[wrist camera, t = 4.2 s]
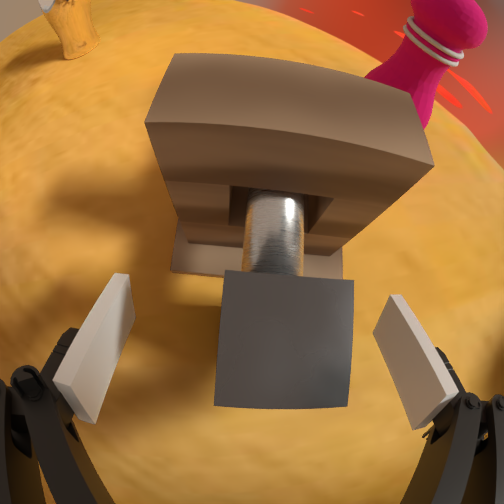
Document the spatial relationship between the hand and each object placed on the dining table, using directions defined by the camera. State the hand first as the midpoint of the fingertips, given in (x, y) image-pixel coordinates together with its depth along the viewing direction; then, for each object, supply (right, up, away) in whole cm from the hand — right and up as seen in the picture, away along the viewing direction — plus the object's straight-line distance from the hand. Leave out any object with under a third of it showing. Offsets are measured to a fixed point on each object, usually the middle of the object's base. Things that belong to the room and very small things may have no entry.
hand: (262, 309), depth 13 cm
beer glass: (-25, +32, +14) cm, 43 cm away
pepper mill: (+12, +15, +12) cm, 22 cm away
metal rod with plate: (0, +4, +7) cm, 8 cm away
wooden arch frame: (0, +5, +8) cm, 9 cm away
